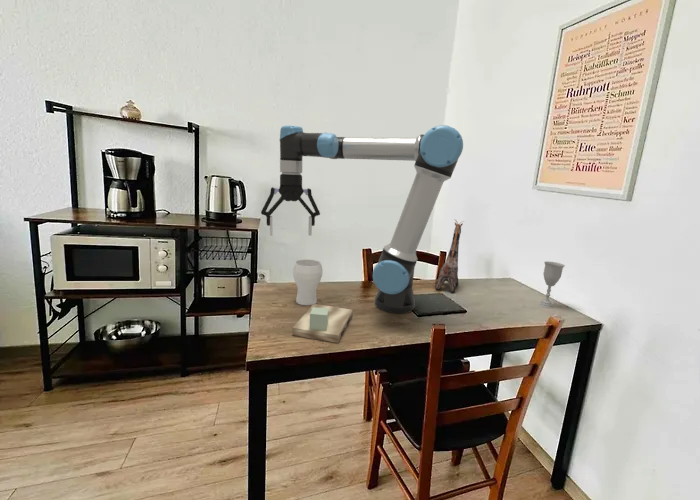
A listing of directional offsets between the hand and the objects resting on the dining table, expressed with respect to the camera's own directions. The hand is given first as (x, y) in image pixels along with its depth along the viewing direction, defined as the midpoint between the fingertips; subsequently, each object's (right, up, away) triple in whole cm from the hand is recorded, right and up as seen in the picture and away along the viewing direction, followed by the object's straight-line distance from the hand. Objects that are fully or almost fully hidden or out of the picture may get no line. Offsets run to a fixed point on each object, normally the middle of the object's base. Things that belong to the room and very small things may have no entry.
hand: (290, 235), depth 126 cm
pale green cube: (+12, -28, -19) cm, 36 cm away
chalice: (+101, -28, +20) cm, 107 cm away
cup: (+5, -25, +6) cm, 26 cm away
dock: (+13, -29, -12) cm, 34 cm away
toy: (+65, -22, +35) cm, 77 cm away
